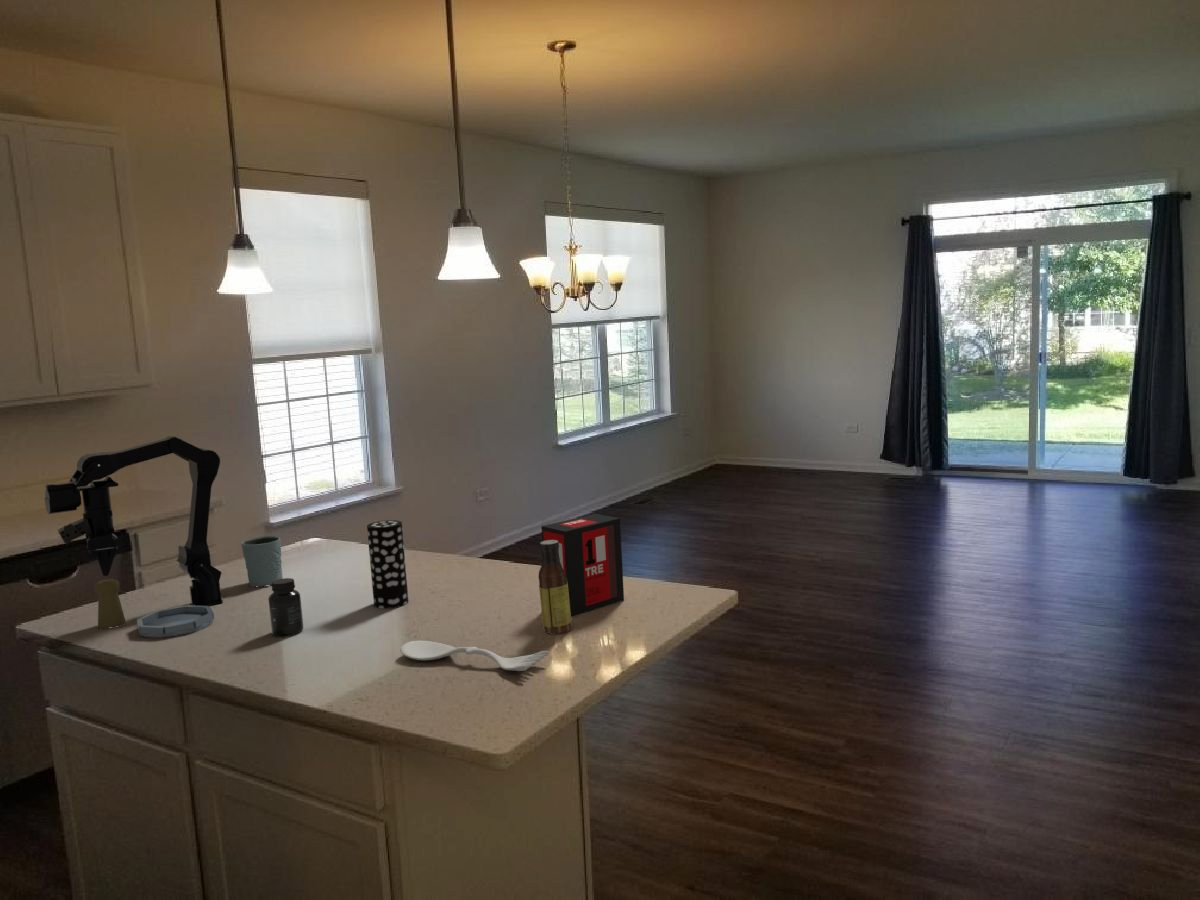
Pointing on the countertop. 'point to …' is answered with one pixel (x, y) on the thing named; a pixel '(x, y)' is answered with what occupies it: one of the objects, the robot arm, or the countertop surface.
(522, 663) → the white spork
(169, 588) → the countertop surface
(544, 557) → the sauce bottle
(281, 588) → the supplement bottle
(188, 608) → the dish
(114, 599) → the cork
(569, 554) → the cleaning product box
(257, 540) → the teal cup
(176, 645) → the countertop surface
